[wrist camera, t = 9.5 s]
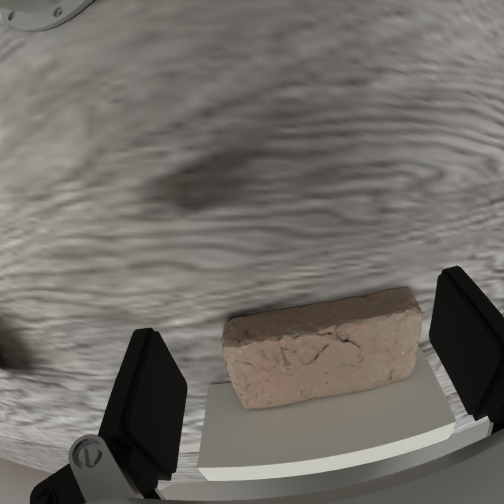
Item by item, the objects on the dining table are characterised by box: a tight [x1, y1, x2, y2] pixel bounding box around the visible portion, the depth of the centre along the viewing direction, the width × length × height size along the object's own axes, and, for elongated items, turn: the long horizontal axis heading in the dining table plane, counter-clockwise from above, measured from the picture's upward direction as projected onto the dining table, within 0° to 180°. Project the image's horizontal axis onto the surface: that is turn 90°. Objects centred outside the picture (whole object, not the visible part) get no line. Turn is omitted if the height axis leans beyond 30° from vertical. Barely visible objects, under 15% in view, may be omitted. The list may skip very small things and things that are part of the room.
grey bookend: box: [197, 346, 457, 481], centre depth 27 cm, size 8×22×10 cm, turn 102°
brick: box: [221, 287, 423, 409], centre depth 26 cm, size 16×8×5 cm, turn 101°
